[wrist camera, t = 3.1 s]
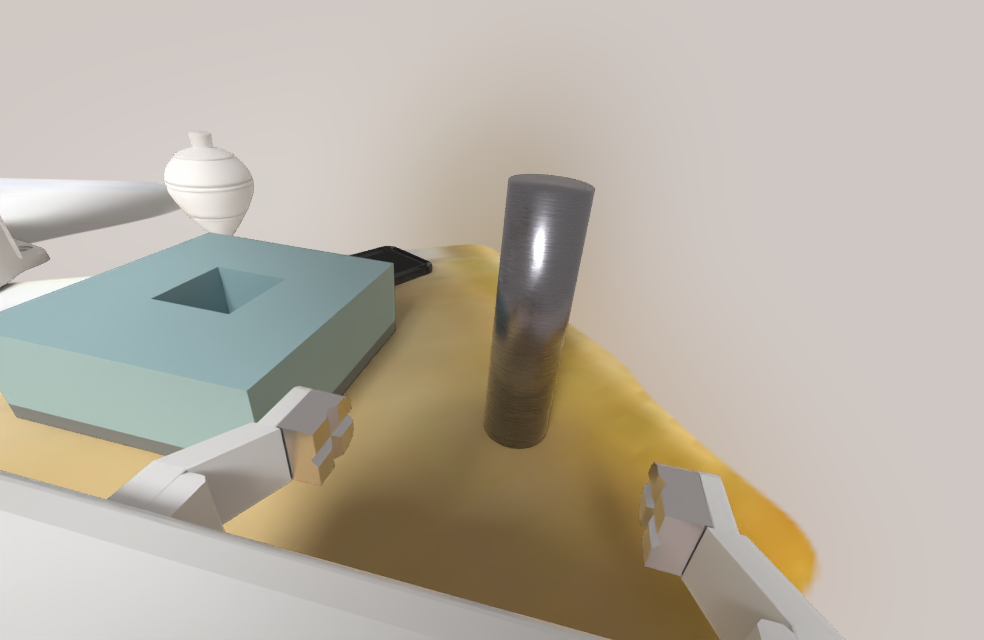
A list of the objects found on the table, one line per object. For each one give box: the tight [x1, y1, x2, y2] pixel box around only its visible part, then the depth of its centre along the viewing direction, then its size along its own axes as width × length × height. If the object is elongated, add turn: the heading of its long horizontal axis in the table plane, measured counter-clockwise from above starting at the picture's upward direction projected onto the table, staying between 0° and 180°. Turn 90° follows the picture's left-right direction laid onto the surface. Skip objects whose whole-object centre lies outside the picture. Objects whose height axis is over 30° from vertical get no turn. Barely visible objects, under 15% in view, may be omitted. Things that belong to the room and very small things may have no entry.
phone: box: [350, 246, 432, 286], centre depth 44 cm, size 8×1×15 cm
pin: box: [484, 174, 595, 449], centre depth 24 cm, size 4×4×15 cm
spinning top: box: [164, 131, 254, 236], centre depth 44 cm, size 8×8×12 cm
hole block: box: [0, 232, 396, 456], centre depth 29 cm, size 16×16×6 cm
